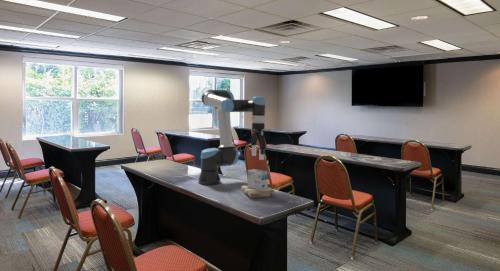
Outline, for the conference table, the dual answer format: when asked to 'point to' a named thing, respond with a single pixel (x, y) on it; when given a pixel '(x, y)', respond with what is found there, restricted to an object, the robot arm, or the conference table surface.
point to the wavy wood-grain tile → (257, 192)
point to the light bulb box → (257, 179)
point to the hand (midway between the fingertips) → (257, 157)
